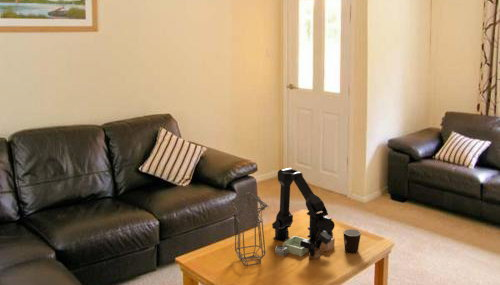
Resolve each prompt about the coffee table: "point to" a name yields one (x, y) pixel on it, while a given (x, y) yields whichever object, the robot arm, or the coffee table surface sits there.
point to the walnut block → (315, 253)
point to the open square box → (327, 245)
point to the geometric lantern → (249, 223)
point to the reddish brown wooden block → (281, 250)
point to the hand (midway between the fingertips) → (314, 254)
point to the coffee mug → (351, 240)
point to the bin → (295, 246)
